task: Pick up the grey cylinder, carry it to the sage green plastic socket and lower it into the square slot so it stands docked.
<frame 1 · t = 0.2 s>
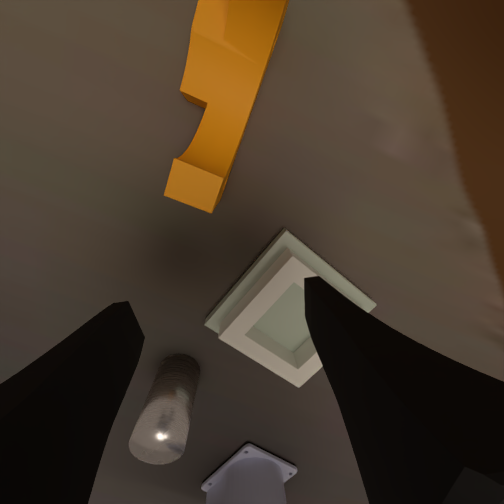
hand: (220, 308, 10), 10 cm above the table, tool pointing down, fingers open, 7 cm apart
socket: (288, 308, 22), on the table
grey cylinder: (180, 369, 24), on the table
pipe clamp: (219, 108, 17), on the table
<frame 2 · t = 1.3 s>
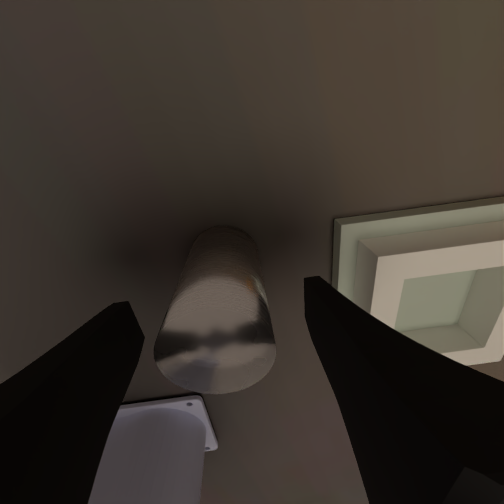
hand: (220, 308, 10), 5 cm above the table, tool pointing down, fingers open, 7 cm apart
socket: (412, 285, 16), on the table
grey cylinder: (224, 257, 14), on the table
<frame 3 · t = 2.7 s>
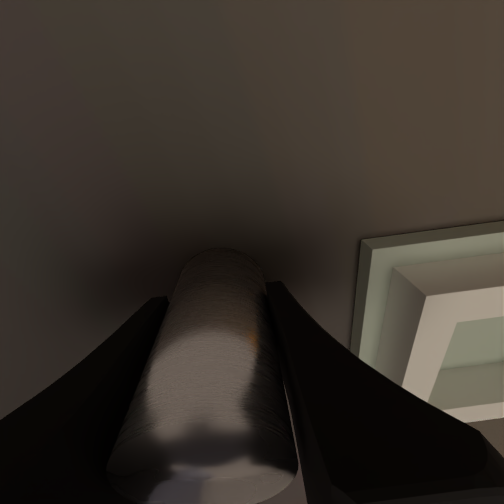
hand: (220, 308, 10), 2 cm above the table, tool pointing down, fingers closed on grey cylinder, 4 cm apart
socket: (451, 316, 13), on the table
grey cylinder: (222, 285, 11), on the table, touching gripper
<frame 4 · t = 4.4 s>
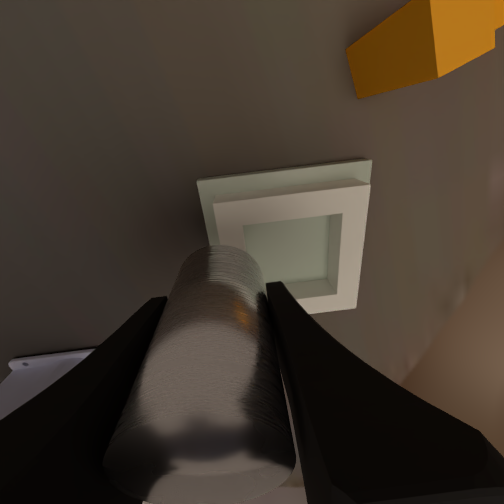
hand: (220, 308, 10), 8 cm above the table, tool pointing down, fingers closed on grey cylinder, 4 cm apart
socket: (285, 243, 18), on the table
grey cylinder: (221, 282, 11), point 7 cm above the table, touching gripper
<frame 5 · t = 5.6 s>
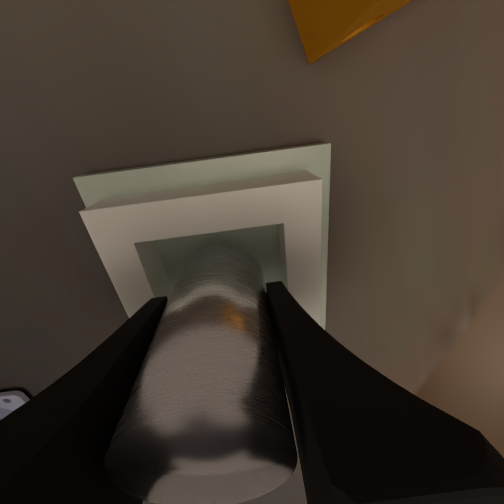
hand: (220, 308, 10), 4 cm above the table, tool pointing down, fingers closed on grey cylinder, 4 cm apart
socket: (224, 261, 13), on the table
grey cylinder: (221, 282, 11), point 2 cm above the table, touching gripper
when the fingers open (4 cm above the table, at t = 6.3 s): grey cylinder drops 1 cm, resting on socket.
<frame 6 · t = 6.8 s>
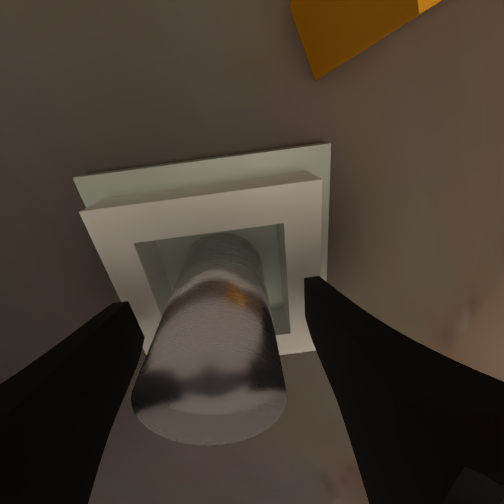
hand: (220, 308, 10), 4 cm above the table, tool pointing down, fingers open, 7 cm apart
socket: (224, 261, 13), on the table
grey cylinder: (223, 268, 12), point 1 cm above the table, touching socket
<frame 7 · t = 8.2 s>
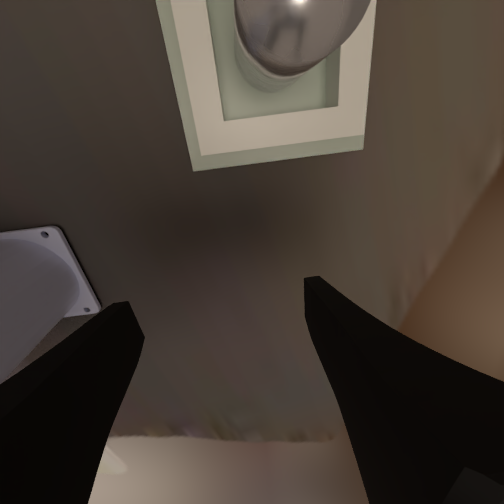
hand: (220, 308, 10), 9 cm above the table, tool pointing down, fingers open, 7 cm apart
socket: (269, 57, 14), on the table
grey cylinder: (271, 48, 13), point 1 cm above the table, touching socket
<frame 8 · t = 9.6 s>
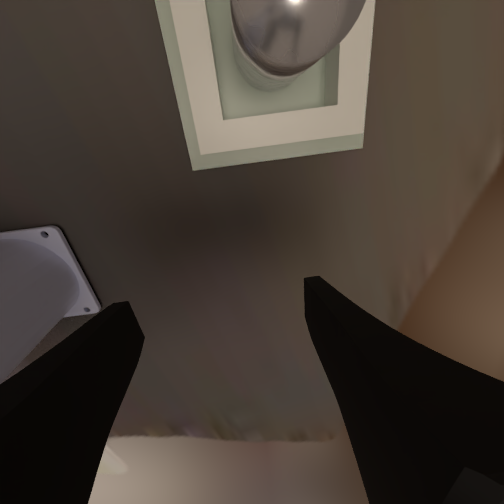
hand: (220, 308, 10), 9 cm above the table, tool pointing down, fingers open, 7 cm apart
socket: (268, 56, 14), on the table
grey cylinder: (270, 46, 13), point 1 cm above the table, touching socket
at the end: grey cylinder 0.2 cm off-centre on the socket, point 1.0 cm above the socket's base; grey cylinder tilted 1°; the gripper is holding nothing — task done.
